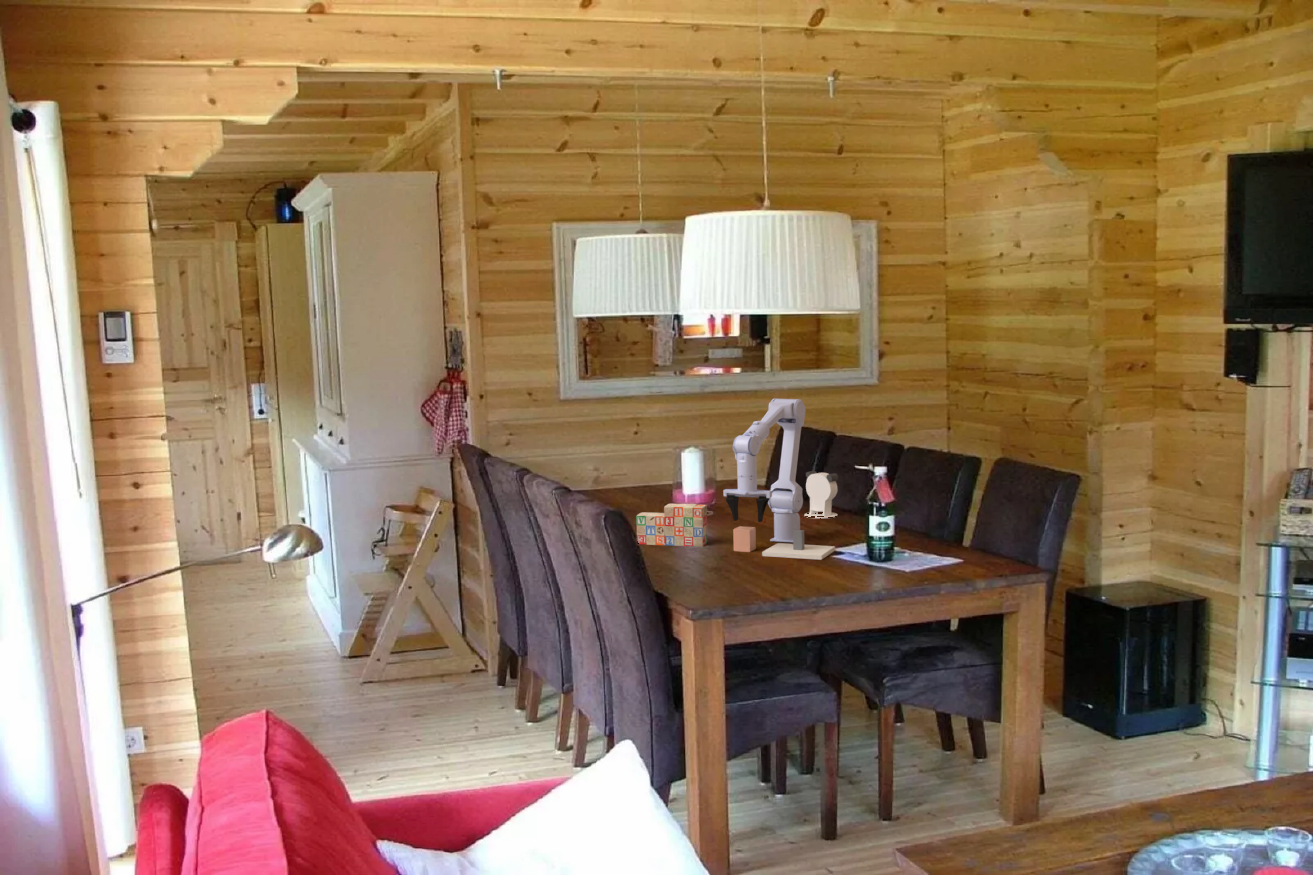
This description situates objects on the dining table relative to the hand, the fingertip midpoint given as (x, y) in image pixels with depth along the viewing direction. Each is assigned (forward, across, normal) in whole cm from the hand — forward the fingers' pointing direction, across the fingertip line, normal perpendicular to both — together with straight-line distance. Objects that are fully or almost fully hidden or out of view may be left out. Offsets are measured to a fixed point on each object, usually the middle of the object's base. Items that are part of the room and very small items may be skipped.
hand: (748, 521), depth 375 cm
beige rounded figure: (+10, +3, +66) cm, 67 cm away
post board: (+10, +15, +3) cm, 18 cm away
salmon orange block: (+10, -2, +3) cm, 10 cm away
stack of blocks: (+10, -27, +6) cm, 30 cm away
